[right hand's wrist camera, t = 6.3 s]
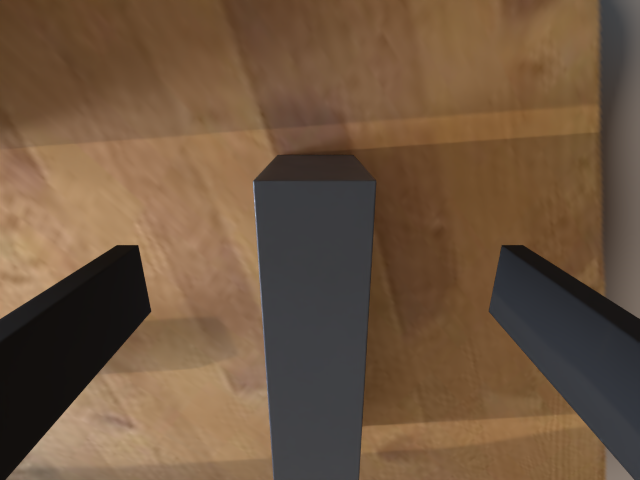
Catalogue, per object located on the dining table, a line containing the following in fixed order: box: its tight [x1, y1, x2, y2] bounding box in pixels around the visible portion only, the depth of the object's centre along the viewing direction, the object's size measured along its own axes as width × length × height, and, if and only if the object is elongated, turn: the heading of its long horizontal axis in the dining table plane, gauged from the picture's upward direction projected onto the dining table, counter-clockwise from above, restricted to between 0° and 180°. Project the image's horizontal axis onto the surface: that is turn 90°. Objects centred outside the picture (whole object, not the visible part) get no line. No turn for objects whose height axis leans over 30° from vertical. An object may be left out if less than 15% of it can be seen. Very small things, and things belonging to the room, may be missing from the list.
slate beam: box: [253, 155, 376, 480], centre depth 22 cm, size 5×24×9 cm, turn 0°
